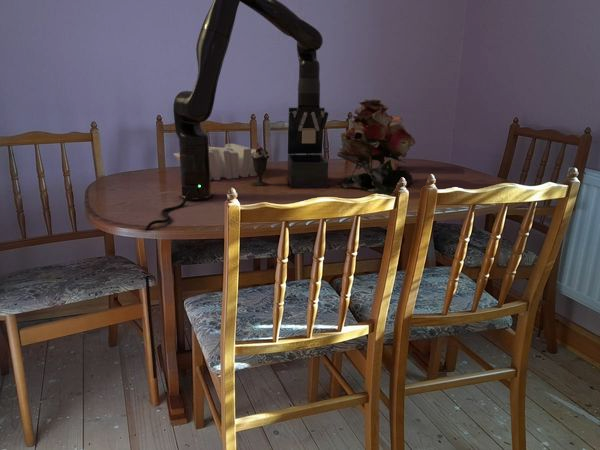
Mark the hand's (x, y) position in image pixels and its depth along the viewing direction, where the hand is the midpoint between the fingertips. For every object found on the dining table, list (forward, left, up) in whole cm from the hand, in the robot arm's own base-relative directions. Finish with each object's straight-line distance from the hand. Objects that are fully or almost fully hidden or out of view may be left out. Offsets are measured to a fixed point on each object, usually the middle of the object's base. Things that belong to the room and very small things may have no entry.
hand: (308, 141), depth 188 cm
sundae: (+1, +17, -16) cm, 23 cm away
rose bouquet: (0, -23, -16) cm, 28 cm away
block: (0, 0, 0) cm, 0 cm away
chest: (+3, 0, -15) cm, 16 cm away
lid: (+9, 0, +2) cm, 9 cm away
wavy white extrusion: (+18, +31, -16) cm, 39 cm away
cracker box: (+26, -37, -16) cm, 48 cm away
